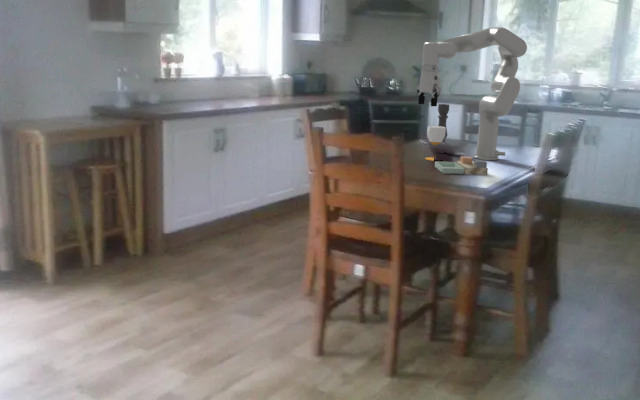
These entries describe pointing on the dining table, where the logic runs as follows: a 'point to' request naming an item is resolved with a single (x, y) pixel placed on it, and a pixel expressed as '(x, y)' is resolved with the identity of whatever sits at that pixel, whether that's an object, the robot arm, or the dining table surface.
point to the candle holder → (443, 116)
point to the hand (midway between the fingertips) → (427, 105)
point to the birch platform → (472, 169)
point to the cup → (435, 136)
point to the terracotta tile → (466, 160)
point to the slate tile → (480, 163)
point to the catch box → (449, 168)
